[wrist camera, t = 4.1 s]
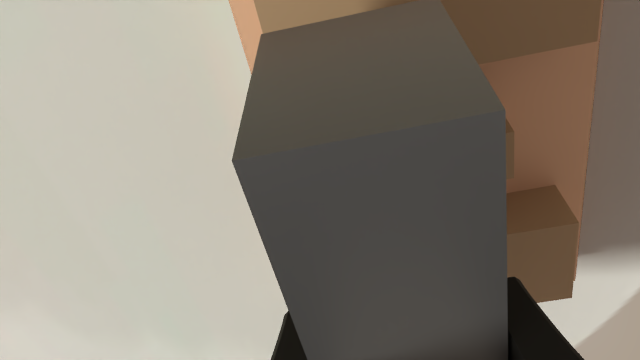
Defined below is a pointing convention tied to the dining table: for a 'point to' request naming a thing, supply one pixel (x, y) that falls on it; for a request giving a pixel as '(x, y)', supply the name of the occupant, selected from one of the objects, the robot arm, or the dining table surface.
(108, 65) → the dining table surface
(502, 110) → the frame bar
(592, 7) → the display stand
